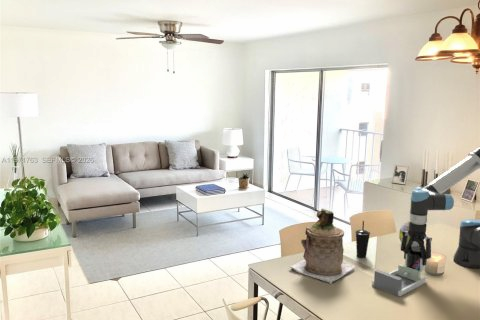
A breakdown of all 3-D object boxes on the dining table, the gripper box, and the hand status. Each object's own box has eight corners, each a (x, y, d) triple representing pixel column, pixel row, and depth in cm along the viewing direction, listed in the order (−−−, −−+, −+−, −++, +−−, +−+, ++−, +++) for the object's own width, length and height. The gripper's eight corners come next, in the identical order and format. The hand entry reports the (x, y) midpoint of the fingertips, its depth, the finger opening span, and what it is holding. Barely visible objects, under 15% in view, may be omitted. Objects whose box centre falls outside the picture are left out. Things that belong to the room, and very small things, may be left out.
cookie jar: (356, 269, 205) (360, 207, 200) (331, 285, 187) (334, 218, 183) (314, 256, 222) (316, 199, 217) (287, 270, 204) (289, 208, 199)
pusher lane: (397, 273, 201) (398, 258, 200) (425, 283, 191) (426, 268, 190) (371, 285, 188) (372, 270, 187) (400, 297, 177) (401, 280, 176)
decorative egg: (396, 240, 247) (398, 216, 245) (417, 241, 246) (419, 217, 244) (401, 248, 235) (403, 222, 233) (423, 249, 234) (425, 223, 232)
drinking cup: (369, 259, 218) (371, 223, 215) (354, 258, 219) (356, 222, 216) (368, 254, 225) (370, 219, 222) (353, 253, 227) (355, 218, 224)
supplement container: (409, 272, 194) (410, 251, 192) (404, 266, 201) (406, 246, 199) (423, 272, 193) (425, 251, 192) (418, 267, 200) (420, 246, 198)
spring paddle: (399, 274, 199) (399, 264, 198) (419, 281, 191) (420, 271, 190) (393, 276, 196) (394, 266, 195) (414, 284, 187) (414, 274, 187)
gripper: (394, 218, 199) (391, 263, 202) (434, 229, 184) (430, 277, 187) (402, 216, 203) (399, 260, 207) (442, 226, 188) (438, 273, 192)
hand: (414, 268), depth 197 cm, fingers closed on supplement container, 7 cm apart
